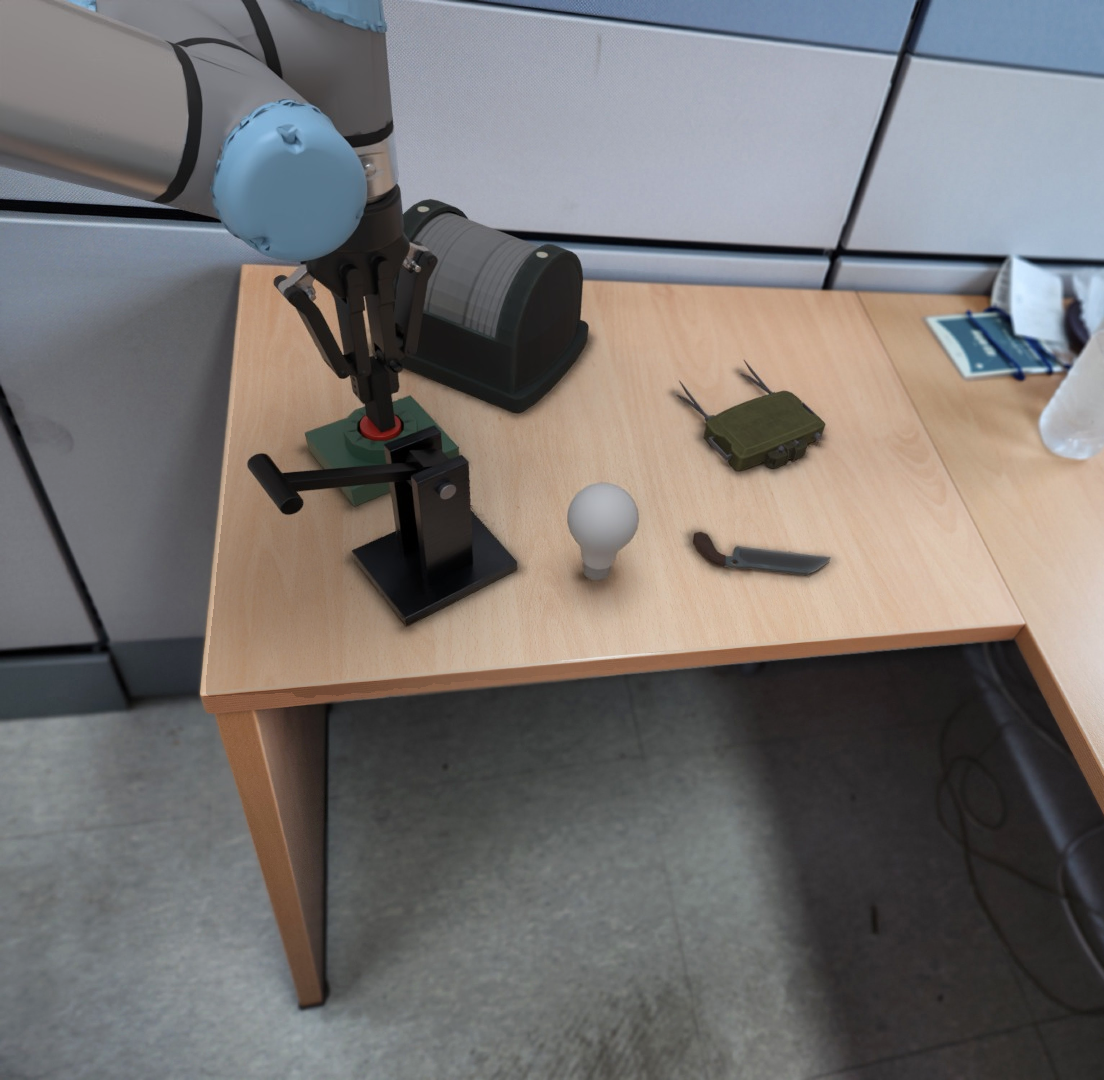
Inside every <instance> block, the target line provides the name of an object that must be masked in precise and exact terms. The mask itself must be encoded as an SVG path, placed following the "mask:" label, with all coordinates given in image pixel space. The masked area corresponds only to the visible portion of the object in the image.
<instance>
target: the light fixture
mask: <svg viewBox="0 0 1104 1080" xmlns="http://www.w3.org/2000/svg"><path fill="white" fill-rule="evenodd" d="M403 220H404V230H403V232H404V234H405V235H406V237H407V238H408V240H409V242H411V243H413V242H415V241H419V242H421V243H422V244H423V245H424V246H425V247H426V248H427V249H428V250H430V251H431V252H432V253H433V254H434V255H435V256H436V257H437V259H438V262H437V265H436V267H435V269H434V271H433V273H432V274H431V276H430V278H429V280H428V285H427V291H426V297H425V303H424V309H423V316H422V322H421V328H420V334H419V340H418V347H417V352H416V353H415V355H413V356H411V357H407V356H405V357H403V358H402V359H400V360H399V362H400V363H401V364H402V365H403V369H405V370H408V371H410V372H412V373H415V374H417V375H419V376H422V377H425V378H428V379H430V380H432V381H435V382H437V383H439V384H442V385H444V386H447V387H449V388H451V389H454V390H457V391H459V392H461V393H464V394H467V395H469V396H471V397H474V398H477V399H479V400H481V401H484V402H485V403H489V404H492V405H494V406H497V407H499V408H501V409H503V410H506V411H509V412H512V413H516V414H520V413H523V412H525V411H526V410H528V409H529V408H531V407H532V406H534V405H535V404H536V403H538V401H540V400H541V399H542V398H543V397H544V396H546V395H547V394H548V393H549V392H550V391H551V390H552V389H553V388H554V387H555V386H556V384H558V382H559V381H561V379H562V378H564V376H565V375H566V373H567V372H568V371H569V370H570V369H571V367H572V366H573V365H574V364H575V362H576V361H577V360H578V358H579V357H580V355H581V354H582V352H583V350H584V349H585V346H586V345H587V342H588V339H589V338H588V337H589V327H590V326H589V323H588V322H586V321H584V320H583V319H581V318H582V317H581V316H582V300H583V288H584V287H583V286H584V272H583V271H584V270H583V267H582V263H581V260H580V258H579V256H578V255H577V254H576V253H575V252H573V251H572V250H569V249H567V248H564V247H562V246H558V245H556V244H551V243H546V244H543V245H540V246H539V245H537V244H534V243H531V242H529V241H526V240H524V239H521V238H519V237H516V236H513V235H510V234H508V233H506V232H503V231H500V230H497V229H495V228H492V227H489V226H488V225H484V224H482V223H479V222H476V221H474V220H472V219H469V217H468V216H467V215H466V214H465V212H464V211H462V209H459V207H456V206H454V205H451V204H448V203H446V202H443V201H441V200H437V199H432V198H429V199H422V200H420V201H418V202H416V203H413V204H412V206H410V207H409V208H408V209H407V210H406V211H404V212H403ZM400 268H401V267H400ZM399 273H400V269H399V271H398V273H397V275H396V277H395V278H394V280H393V282H392V283H393V291H394V302H392V306H393V314H394V309H395V302H396V295H397V288H398V280H399ZM370 342H371V341H370ZM371 344H372V342H371ZM371 349H372V348H371ZM371 351H372V355H373V356H374V357H375V358H376V355H375V354H374V352H373V349H372V350H371Z"/></svg>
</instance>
